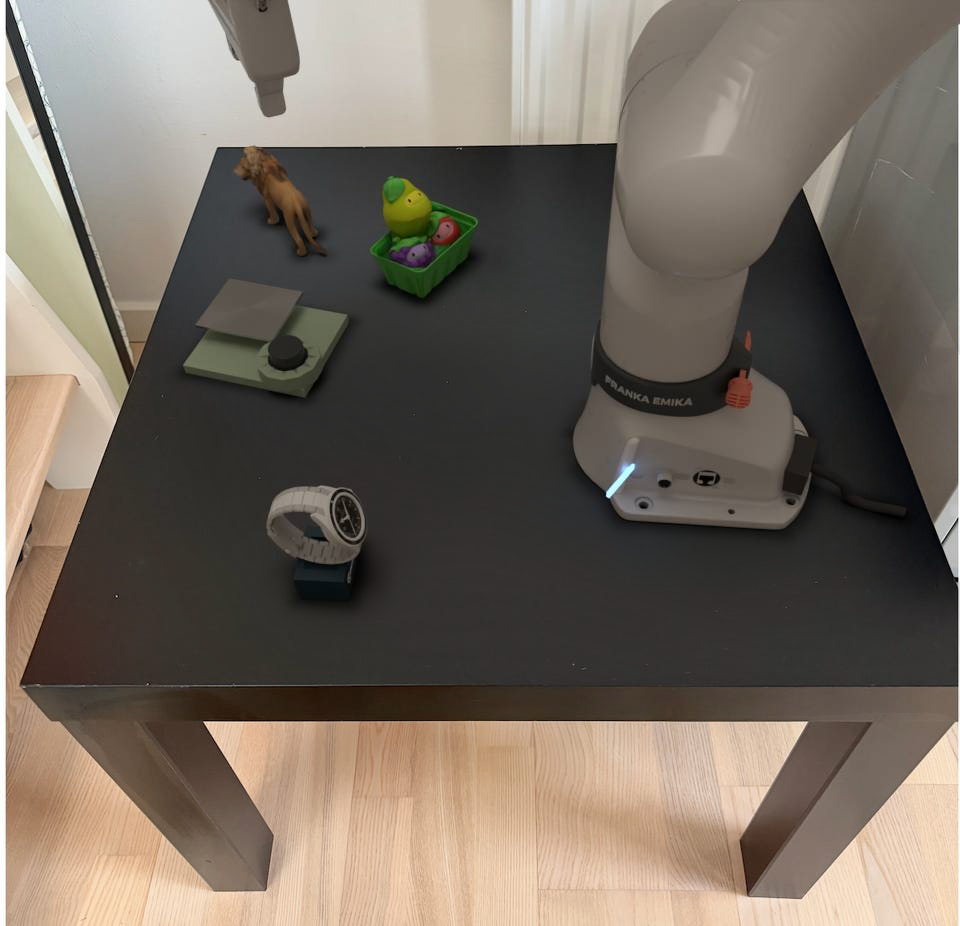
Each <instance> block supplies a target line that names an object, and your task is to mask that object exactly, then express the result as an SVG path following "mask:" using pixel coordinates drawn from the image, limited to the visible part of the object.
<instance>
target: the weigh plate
mask: <svg viewBox="0 0 960 926" xmlns="http://www.w3.org/2000/svg"><path fill="white" fill-rule="evenodd" d="M303 296H304V292H303V290H295V289H290V288H284V287H279V286H273V285H268V284H263V283H258V282H251V281H245V280H241V279H236V278H231V277H230V278H228V279H227V281H226V282H225V284H223V286H222V288H221V289H220V290H219V292H218V293H217V294H216V295H215V297H214V299H213V300H212V301H211V302H210V304H209V306H208V307H207V308H206V309H205V311H204V312H203V313H202V315H201V316H200V318H199V319H198V320H197V322H196V323H195V324H194V325H195V328H197V329H201V330H206V331H208V330H211V331H217V332H222V333H227V334H232V335H237V336H242V337H247V338H252V339H257V340H262V341H268V342H271V341H273V340H274V339H275V337H276V336H277V334H278V333H279V331H280V330H281V328H282V326H283V325H284V323H285V322H286V320H287V319H288V317H289V316H290V314H291V313H292V311H293V309H294V308H295V306H296V305H298V303H299V302H300V301H301V298H302V297H303Z"/></svg>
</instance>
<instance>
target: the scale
mask: <svg viewBox="0 0 960 926" xmlns="http://www.w3.org/2000/svg"><path fill="white" fill-rule="evenodd" d="M349 323H350V320H349V316H348V314H346V313H342V312H341V313H340V312H335V311H329V310H323V309H318V308H314V307H307V306H302V305H299V304H297V305H296V306H295V308H294V309H293V311H292V313H291V314H290V316H289V317H288V319H287V320H286V322H285V323H284V325H283V326H282V328H281V330H280V331H279V333H278V334H277V336H276V337H275V338H277V337H280V336H284V335H293V336H296V337H298V338H300V339H301V341H302V342H303V346H304V350H305V354H306V360H305V362H304V363H303V365H302V366H300V367H298V368H297V369H295V370H290V371H280V370H277V369H276V368H274V367H273V365H272V363H271V360H270V357H269V353H268V346H269V344H270V343H271V342H268V341H262V340H257V339H252V338H247V337H242V336H237V335H232V334H227V333H222V332H217V331H211V330H206V332H205V333H204V335H203V336H202V338H201V340H200V341H199V342H198V343H197V345H196V346H195V347H194V349H193V350H192V352H191V353H190V354H189V356H188V357H187V359H186V360H185V362H184V363H183V364H182V366H183V369H184V372H185V373H186V374H189V375H195V376H198V377H204V378H208V379H212V380H214V379H215V380H217V381H224V382H228V383H233V384H237V385H243V386H247V387H253V388H257V389H262V390H267V391H272V392H275V393H281V394H286V395H291V396H295V397H301V398H307V396H308V394H309V392H310V391H311V389H312V387H313V385H314V384H315V382H317V380H318V379H319V376H320V375H321V374H322V371H323V370H324V367H325V365H326V363H327V361H328V360H329V358H330V356H331V354H333V351H334V349H335V347H336V346H337V344H338V343H339V341H340V339H341V338H342V336H343V334H344V332H345V331H346V329H347V327H348V325H349Z"/></svg>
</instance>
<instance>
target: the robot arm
mask: <svg viewBox="0 0 960 926" xmlns="http://www.w3.org/2000/svg"><path fill="white" fill-rule="evenodd" d="M207 1H208V3H209V5H210V7H211V10H212V12H213V13H214V16H216V19H217V21H218V22H219V24H220V26H221V29H222V30H223V32H224V35H225V38H226V43H227V46H228V50H229V52H230V54H231V55H232V57H233V59H234V60H235V61H238V62H240V64H241V66H242V68H243V69H244V71H245V73H246V75H247V77H248V79H249V80H250V81H251V82H252V83H254V88H253V89H254V92H255V93H254V94H255V96H256V101H257V105H258V107H259V110H260V111H261V114H262V115H263V116H264V117H266V118H269V119H270V118H273V117H279V116H281V115H283V114H285V113H286V111H287V105H286V100H285V99H286V98H285V95H284V85H285V84H284V83H285V78H289V77H292V76H295V75H297V74H298V73H299V71H300V66H301V55H300V50H299V45H298V41H297V36H296V32H295V26H294V23H293V18H292V13H291V9H290V8H291V7H290V4H289V0H207ZM959 25H960V0H670V1H668V2H666V3H665V4H663V5H662V6H661V7H660V8H658V10H657V11H656V12H655V13H654V14H653V15H652V16H651V17H650V18H649V19H648V21H647V23H646V24H645V26H644V27H643V29H642V30H641V33H640V34H639V36H638V38H637V39H636V42H634V43H635V44H634V45H633V48H632V49H631V52H630V54H629V57H628V59H627V62H626V65H625V69H624V72H623V78H622V85H621V86H622V87H621V97H620V108H619V117H618V131H617V133H618V134H617V143H616V153H615V154H616V155H615V165H614V174H613V186H612V196H611V197H612V198H611V205H610V216H609V217H610V218H609V229H608V240H607V249H606V250H607V251H606V258H605V260H606V261H605V271H604V283H603V293H602V302H601V303H602V305H601V314H600V318H599V321H598V323H597V326H596V329H595V332H594V334H593V338H592V345H591V352H590V365H589V367H590V368H589V371H590V383H591V387H590V391H589V395H588V398H587V401H586V404H585V407H584V408H583V411H582V413H581V416H580V417H579V419H578V421H577V422H576V425H575V427H574V431H573V434H572V435H573V436H572V447H573V453H574V455H575V458H576V461H577V463H578V465H579V466H580V468H581V469H582V471H583V472H584V474H585V475H586V476H587V477H588V478H589V479H590V480H591V481H592V482H594V483H595V484H596V485H597V486H598V487H599V488H600V489H601V490H602V491H604V492H605V494H606V495H605V497H607V498H608V499H609V502H610V503H611V505H612V507H613V509H614V511H615V513H616V514H617V515H618V516H619V517H621V518H622V519H624V520H627V521H633V522H647V523H648V522H649V523H663V524H665V523H666V524H677V525H679V524H680V525H696V526H711V527H712V526H713V527H724V528H725V527H727V528H728V527H729V528H742V529H743V528H745V529H759V530H775V531H776V530H783V529H786V528H787V527H789V525H791V523H792V522H794V520H795V519H796V518H797V517H798V516H799V514H800V512H801V511H802V509H803V507H804V504H805V502H806V500H807V496H808V493H809V488H810V485H811V484H810V483H811V478H812V475H815V476H817V477H819V478H821V479H824V480H826V481H828V482H830V483H832V484H833V485H835V486H837V487H838V488H839V491H840V495H841V497H842V498H843V500H845V501H846V502H847V503H849V504H850V505H852V506H854V507H856V508H859V509H861V510H864V511H868V512H873V513H879V514H885V515H890V516H895V517H899V518H904V517H905V516H906V512H907V507H905V506H901V505H898V504H897V505H896V504H891V503H886V502H879V501H875V500H870V499H867V498H863V497H861V496H859V495H857V494H855V493H853V490H852V486H851V484H850V482H849V481H848V480H847V479H846V478H845V477H843V476H842V475H840V474H839V473H837V472H836V471H833V470H831V469H829V468H826V467H824V466H822V465H820V464H818V463H815V462H814V460H815V456H816V451H817V448H818V444H819V441H820V440H819V439H818V438H814V437H810V436H809V434H808V432H807V430H806V428H805V426H804V424H803V423H802V421H801V420H800V418H798V416H796V415H794V412H793V407H792V404H791V401H790V398H789V396H788V395H787V393H786V392H785V391H784V389H783V388H782V387H780V386H779V385H778V384H776V383H775V382H773V381H771V380H770V379H769V378H768V377H765V376H764V374H761V373H760V372H758V371H757V370H756V369H755V368H753V367H752V364H753V363H752V361H753V355H752V352H751V346H752V337H751V331H750V330H747V332H746V335H745V336H746V337H745V339H744V344H743V342H742V341H741V340H740V339H738V337H737V336H736V335H735V330H736V325H737V320H738V317H739V313H740V308H741V304H742V300H743V297H744V292H745V288H746V284H747V280H748V276H749V271H750V266H752V265H753V264H754V263H756V262H757V261H758V260H759V259H760V258H761V257H762V256H763V255H764V254H765V253H766V252H767V250H769V248H770V246H771V245H772V244H773V242H774V240H775V238H776V237H777V234H778V232H779V229H780V227H781V225H782V223H783V222H784V219H785V217H786V215H787V213H788V211H789V209H790V207H791V206H792V204H793V203H794V201H795V200H796V197H798V195H799V193H800V192H801V190H802V189H803V188H804V186H805V185H806V183H808V182H807V181H809V179H810V178H811V177H812V176H813V174H814V173H816V171H817V170H818V168H819V167H820V166H821V165H822V163H823V162H824V161H825V160H826V159H827V157H828V156H829V155H830V154H831V153H832V152H833V150H834V149H835V148H836V147H837V146H838V144H839V143H840V142H841V141H842V140H843V138H844V137H845V136H847V134H848V133H849V131H850V130H851V129H852V128H853V127H854V125H855V124H856V123H857V122H858V121H859V120H860V118H861V117H862V116H863V115H864V114H865V113H866V112H867V110H868V109H869V108H870V107H871V106H872V105H873V104H874V103H875V101H876V100H877V99H878V98H879V97H880V96H881V95H882V94H883V93H884V92H885V91H886V90H887V89H888V88H889V87H890V86H891V84H893V82H894V81H895V80H897V78H898V77H900V76H901V75H902V74H903V73H904V72H905V71H906V70H907V69H908V68H909V67H910V66H911V65H912V64H914V63H915V62H916V61H917V60H918V59H919V58H921V56H923V55H924V54H925V53H926V52H928V51H929V50H930V49H932V47H933V46H935V45H936V44H938V43H939V42H940V41H941V40H942V39H943V38H944V37H946V36H947V35H948V34H949V33H951V32H952V31H953V30H955V28H957V27H958V26H959ZM789 503H790V504H789ZM641 507H644V508H641Z"/></svg>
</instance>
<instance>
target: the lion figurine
mask: <svg viewBox="0 0 960 926" xmlns="http://www.w3.org/2000/svg"><path fill="white" fill-rule="evenodd" d="M233 172H234V174H235V175H236V176H237V177H238V178H239V179H240V180H241V181H242V182H247V181H251V184H252V186H255V187H256V190H257V191H258V193H259V194H260V195H261V196H262V198H263V201H264V204H265V207H266V209H267V211H268V212H269V217H268V218H267V224H269V225H276V224H278V223H279V222H280V216H279V213H278V212H277V209H276V206H277V207H278V209H280V210H281V211H282V214H283V218H284V221H285V225H286V227H287V229H288V231H289V233H290V235H291V236H292V238H293V239H294V241H295V243H296V246H297V247H298V248H297V249H296V254H297V256H298V257H304V256H306V254H307V253H308V251H307V248H306V246H305V243H304V240H303V239H302V237H301V235H300V234H299V230H298V219H299V222H300V225H301V227H302V230H303V232H304V235H305V236H306V239H307V240H308V241H309V243H310V244H311V245H312V246H313V247H314V248H315V249H316V250H317V251H318V253H320V254H326V253H327V252H328V251H327V249H325V248H324V247H323V246H322V245H321V244H319V243H318V242H316V241H315V240H314V238H315V237H317V236H318V234H319V233H318V230H317V229H316V228H315V227H314V224H313V219H312V218H313V217H312V213H311V211H312V210H311V208H310V205H309V203H308V200H307V198H306V197H305V196H304V194H303V193H302V192H301V191H300V190H298V189H297V188H296V187H295V185H294V184H293V183H292V182H291V180H289V178H288V173H287V170H286V169H285V167H284V165H283V164H282V163H280V162H279V160H278V159H277V158H275V156H274V155H273V154H271V153H270V152H269V151H268V150H267V149H265V148H263V147H262V146H256V145H255V144H254V145H250V146H246V147H243V157H242V158H241V159H240V163H239V164H238V165H236V167H235V168H234V169H233Z"/></svg>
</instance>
